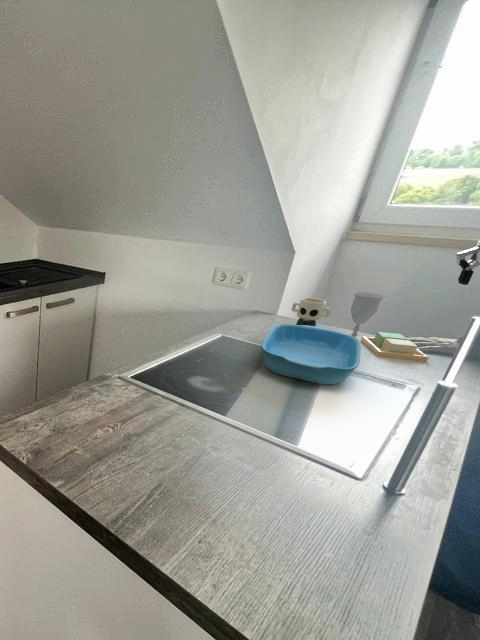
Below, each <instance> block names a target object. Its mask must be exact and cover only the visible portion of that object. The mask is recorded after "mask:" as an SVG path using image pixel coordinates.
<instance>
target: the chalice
mask: <svg viewBox="0 0 480 640" xmlns="http://www.w3.org/2000/svg"><path fill="white" fill-rule="evenodd" d="M353 294H354V299H353V302H352V304H351V307H350V314H351V319H352V323H353V322H354V323H355V326H354V327H353V328H352V330H353V331H352V333H350V336H353V337H355V338H357V336H359V334H358V332H359V331H360V326H361V325H364V324H366V323H367V322H368V321H369V320H370V319H371V318H372V317H374V315H376V313H377V311H378V310H379V307H380V304H381V301H382V300H383V299H384V298H385V295H383V294H379V293H374V292H364V291H363V292H361V291H360V292H354V293H353Z"/></svg>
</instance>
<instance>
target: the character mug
mask: <svg viewBox="0 0 480 640" xmlns="http://www.w3.org/2000/svg"><path fill="white" fill-rule="evenodd" d="M326 305H327V301H326V300H325V299H321V298H315V297H302V298H301V299H300V302H293V303H292V306H291V311H292V312H295V313H296V315H297V317H298V320H297V322H296V323H295V325H307V326H315V327H317V320H320V319H322V317H324V318H329V317H330V316H331V315H330V314H331V312H332V308H330V307H328V306H326ZM297 307H298V308H297ZM324 311H326V313H324Z"/></svg>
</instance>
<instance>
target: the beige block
mask: <svg viewBox="0 0 480 640" xmlns="http://www.w3.org/2000/svg"><path fill="white" fill-rule="evenodd" d="M416 349H418V345H416V344H415V343H414V342H412V341H411V340H408V339H407V340H398V339H388V338H385V340H384V343H383V345H382V348H381V350H382V351H385V352H394V353H403V354H412V355H414V353H415V351H416Z"/></svg>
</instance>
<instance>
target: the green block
mask: <svg viewBox="0 0 480 640" xmlns="http://www.w3.org/2000/svg"><path fill="white" fill-rule="evenodd" d="M374 338H375V339H374V341H373V344H375V345H376V346H377V347H378V348H382V345H383V343H384V340H385V338H388V339H398V340H408V338H407V337H406V336H404V335H402V334H401V333H393V332H383V331H377V332H376V333H375V336H374Z"/></svg>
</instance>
